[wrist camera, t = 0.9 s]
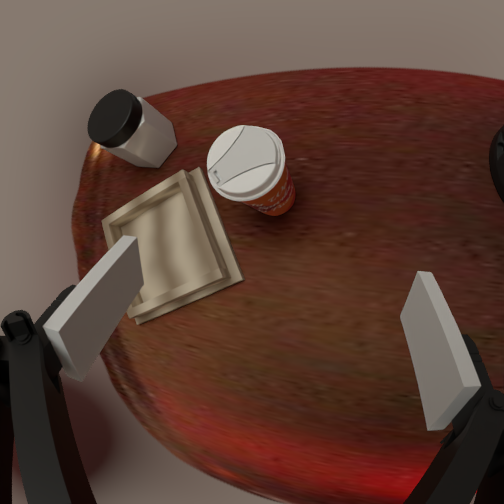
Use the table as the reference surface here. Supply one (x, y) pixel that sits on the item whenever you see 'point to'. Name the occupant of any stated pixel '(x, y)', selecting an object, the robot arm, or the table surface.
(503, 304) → the table surface
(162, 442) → the table surface
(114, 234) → the cup tray
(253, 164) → the paper cup
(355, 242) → the table surface
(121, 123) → the jar
